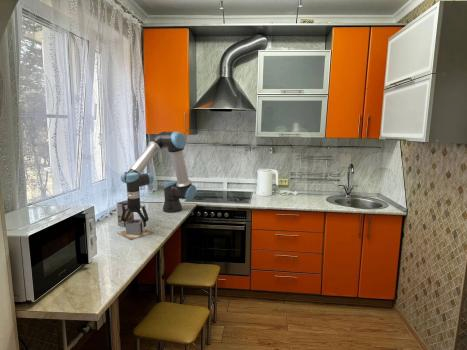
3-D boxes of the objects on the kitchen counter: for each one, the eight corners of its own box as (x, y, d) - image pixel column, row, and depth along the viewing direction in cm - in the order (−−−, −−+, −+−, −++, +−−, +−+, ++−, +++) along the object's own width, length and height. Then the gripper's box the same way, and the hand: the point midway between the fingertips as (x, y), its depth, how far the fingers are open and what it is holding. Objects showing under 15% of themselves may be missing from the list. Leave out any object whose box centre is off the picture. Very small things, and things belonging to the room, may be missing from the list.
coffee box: (124, 227, 216) (122, 204, 214) (117, 225, 220) (116, 202, 217) (134, 223, 224) (133, 201, 221) (128, 221, 227) (127, 200, 224)
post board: (140, 227, 215) (139, 216, 214) (153, 233, 205) (153, 221, 203) (117, 233, 204) (117, 221, 202) (130, 240, 193) (130, 227, 192)
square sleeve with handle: (134, 226, 214) (133, 216, 213) (147, 226, 213) (147, 216, 212) (126, 234, 200) (125, 223, 198) (140, 234, 199) (139, 223, 198)
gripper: (113, 198, 197) (116, 233, 201) (149, 199, 196) (151, 233, 200) (118, 196, 204) (120, 229, 208) (153, 196, 203) (154, 229, 207)
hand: (135, 231), depth 204 cm, fingers open, 10 cm apart
